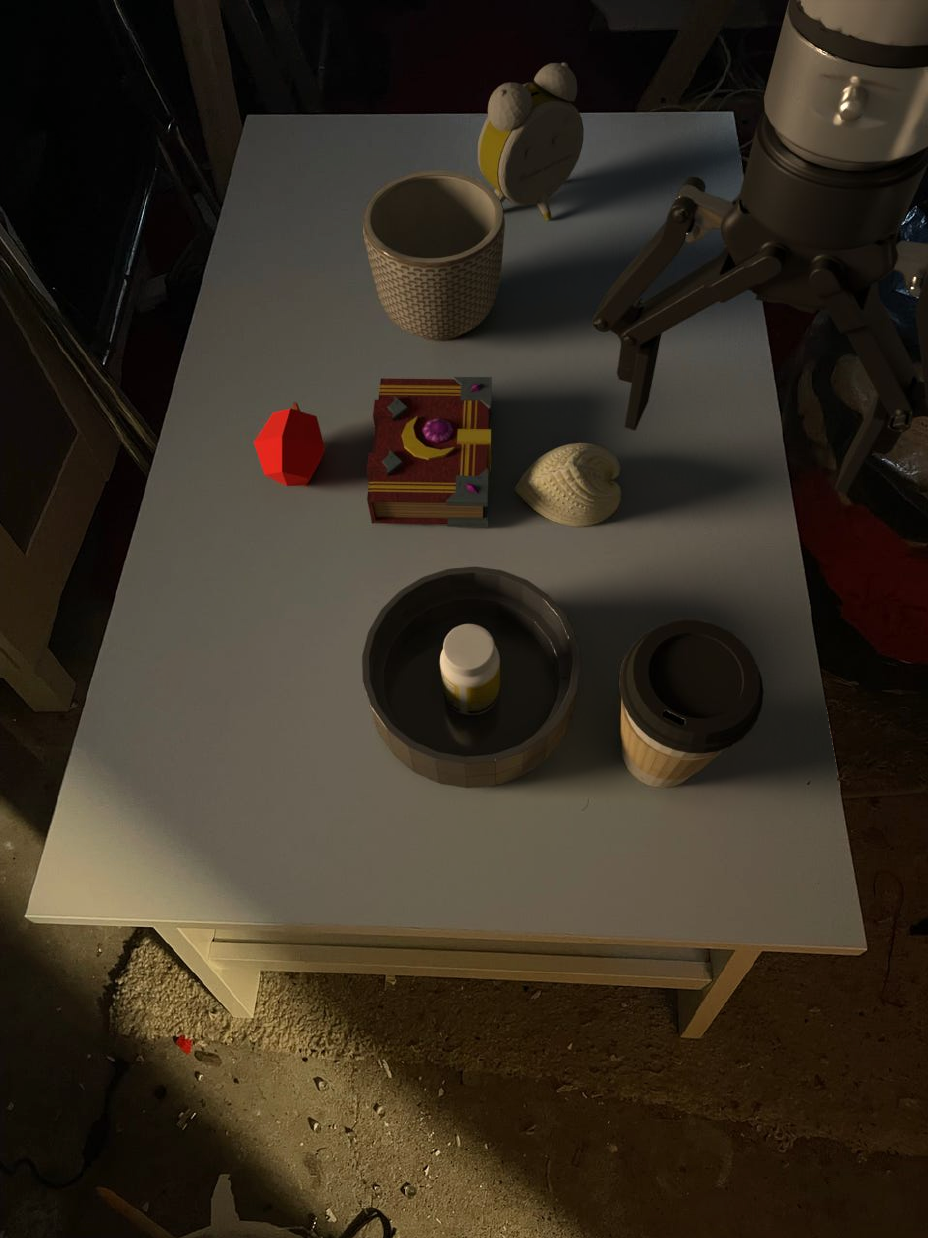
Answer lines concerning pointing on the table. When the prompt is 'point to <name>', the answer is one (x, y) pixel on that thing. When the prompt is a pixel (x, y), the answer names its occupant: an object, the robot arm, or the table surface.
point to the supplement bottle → (470, 669)
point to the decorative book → (431, 452)
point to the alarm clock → (532, 137)
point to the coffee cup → (685, 699)
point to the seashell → (573, 485)
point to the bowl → (529, 677)
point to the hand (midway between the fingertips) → (737, 444)
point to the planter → (435, 251)
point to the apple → (290, 446)
